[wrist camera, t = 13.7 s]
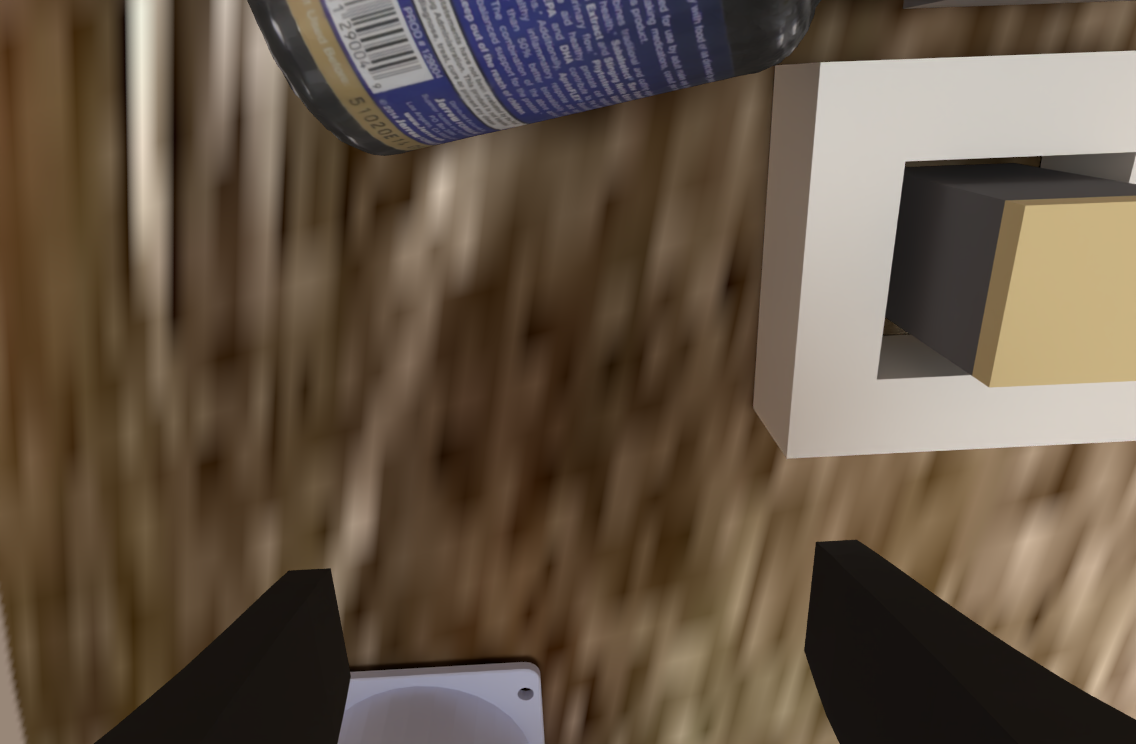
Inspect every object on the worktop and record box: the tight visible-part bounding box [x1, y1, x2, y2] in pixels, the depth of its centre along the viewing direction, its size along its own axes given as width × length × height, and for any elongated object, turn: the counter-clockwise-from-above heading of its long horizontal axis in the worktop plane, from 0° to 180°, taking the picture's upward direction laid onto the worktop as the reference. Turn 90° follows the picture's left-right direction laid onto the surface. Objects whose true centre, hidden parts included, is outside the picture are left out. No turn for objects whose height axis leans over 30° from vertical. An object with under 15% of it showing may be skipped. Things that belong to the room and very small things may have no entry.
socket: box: [753, 51, 1136, 459], centre depth 18 cm, size 9×9×3 cm
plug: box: [885, 163, 1136, 388], centre depth 16 cm, size 4×4×6 cm
